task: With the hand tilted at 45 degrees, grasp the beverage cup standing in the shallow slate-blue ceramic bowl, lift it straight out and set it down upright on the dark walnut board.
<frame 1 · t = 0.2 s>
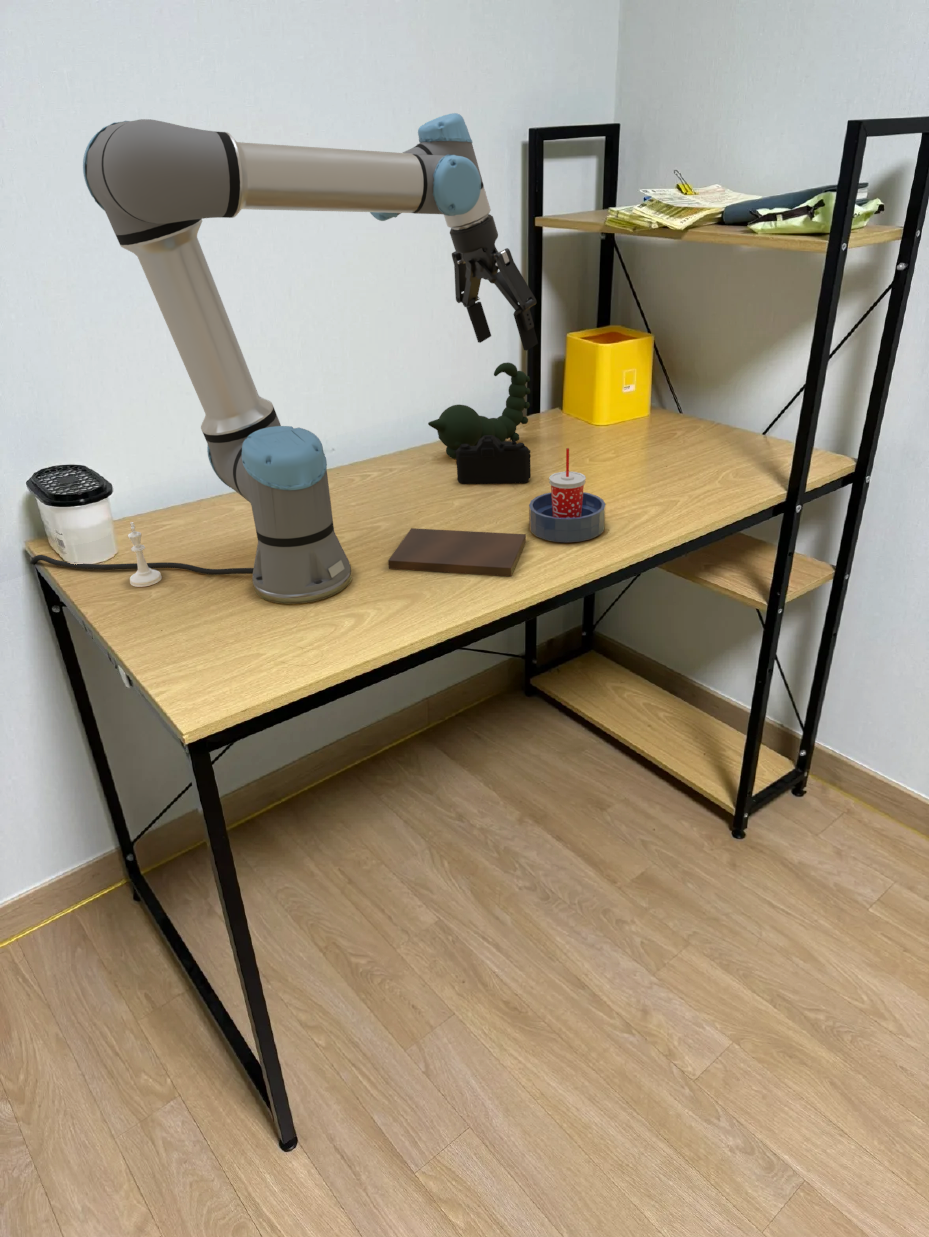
hand: (507, 343, 155), 27 cm above the table, tool tilted 15°, fingers open, 13 cm apart
film camera: (493, 477, 175), on the table
chess piece: (146, 581, 141), on the table
board: (458, 555, 143), on the table
toy figurine: (480, 452, 189), on the table
beverage cup: (566, 528, 150), resting on bowl
bowl: (566, 528, 150), on the table
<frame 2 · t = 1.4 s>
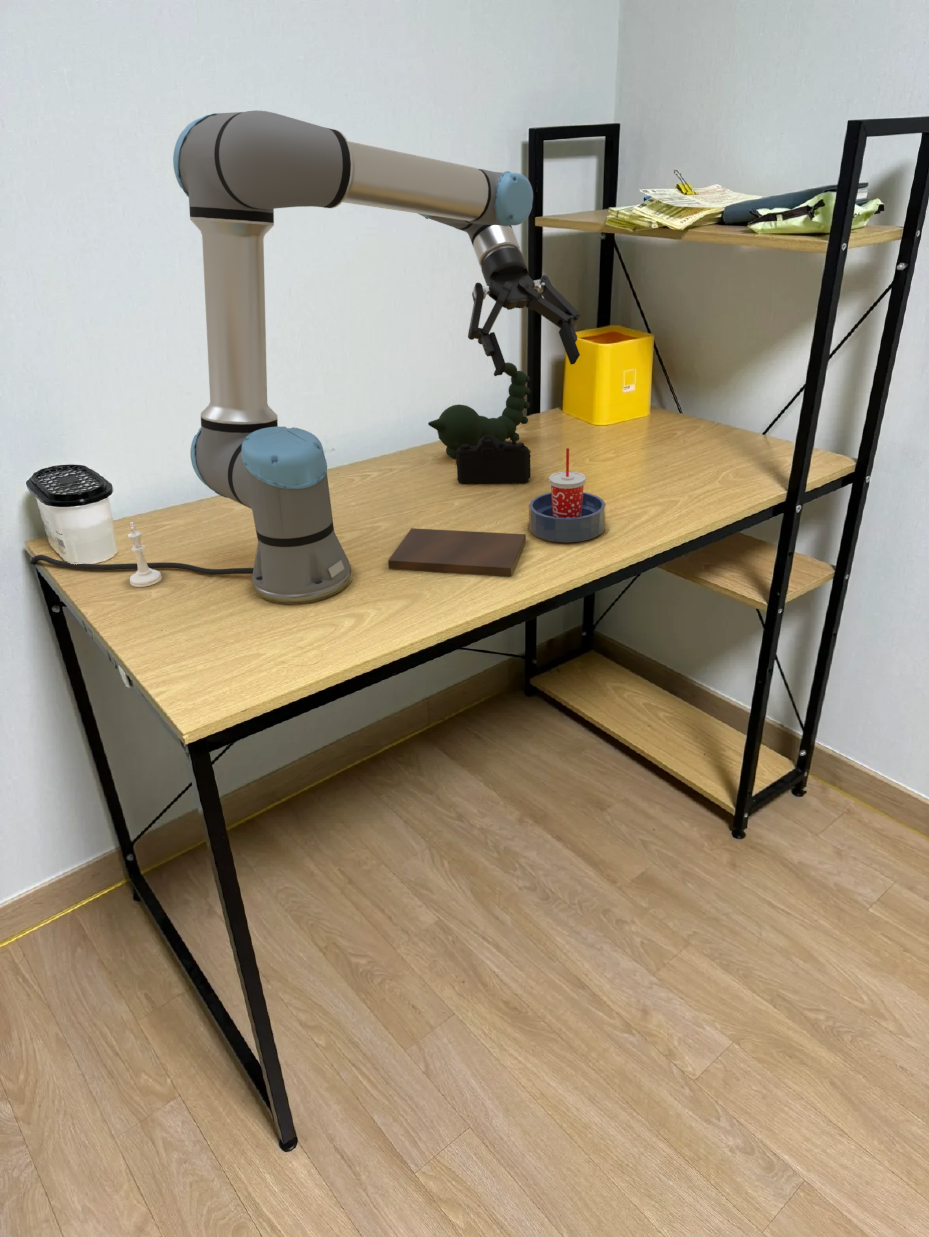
hand: (539, 365, 147), 26 cm above the table, tool tilted 45°, fingers open, 13 cm apart
nothing on the table moved.
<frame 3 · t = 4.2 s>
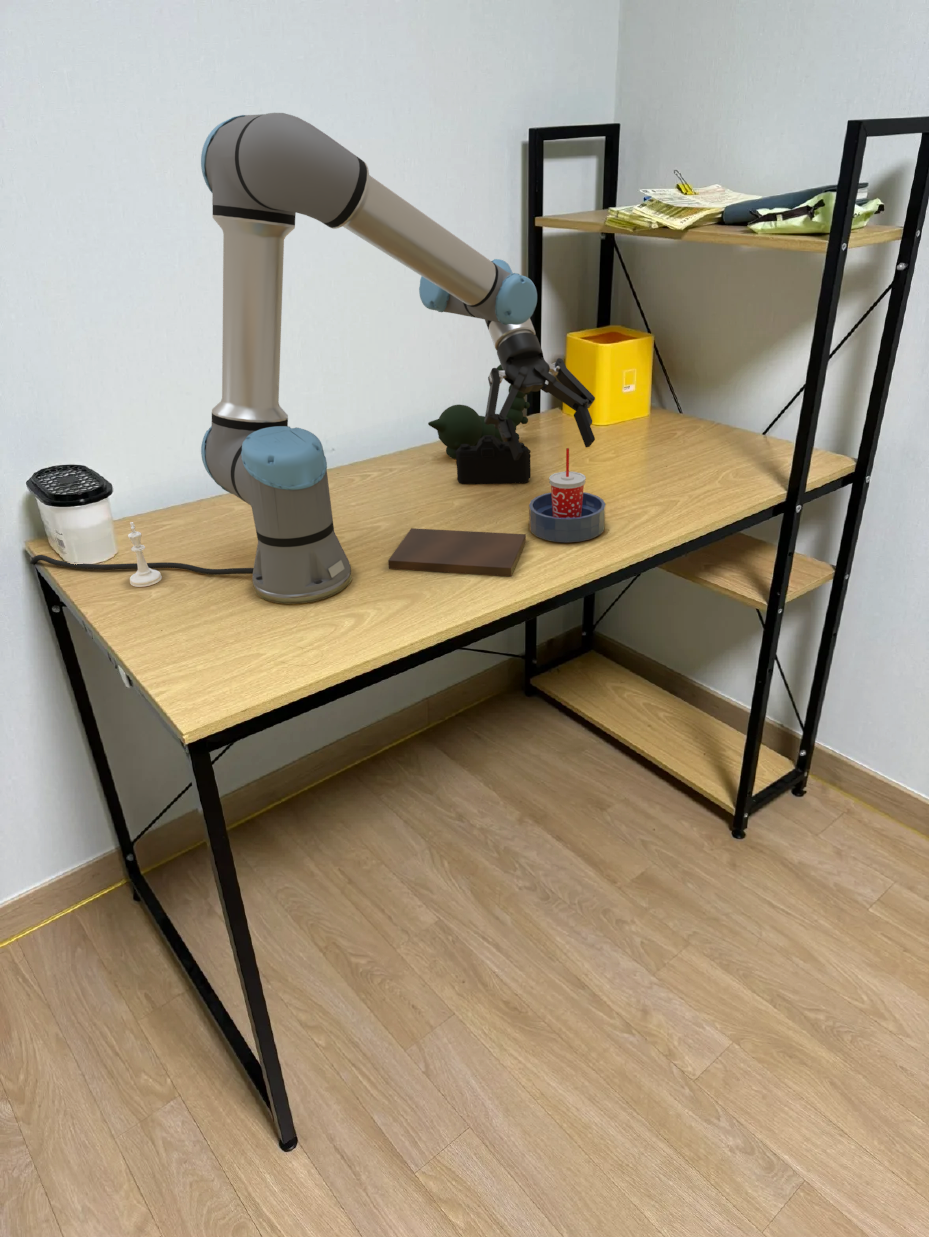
hand: (555, 450, 148), 13 cm above the table, tool tilted 45°, fingers open, 13 cm apart
nothing on the table moved.
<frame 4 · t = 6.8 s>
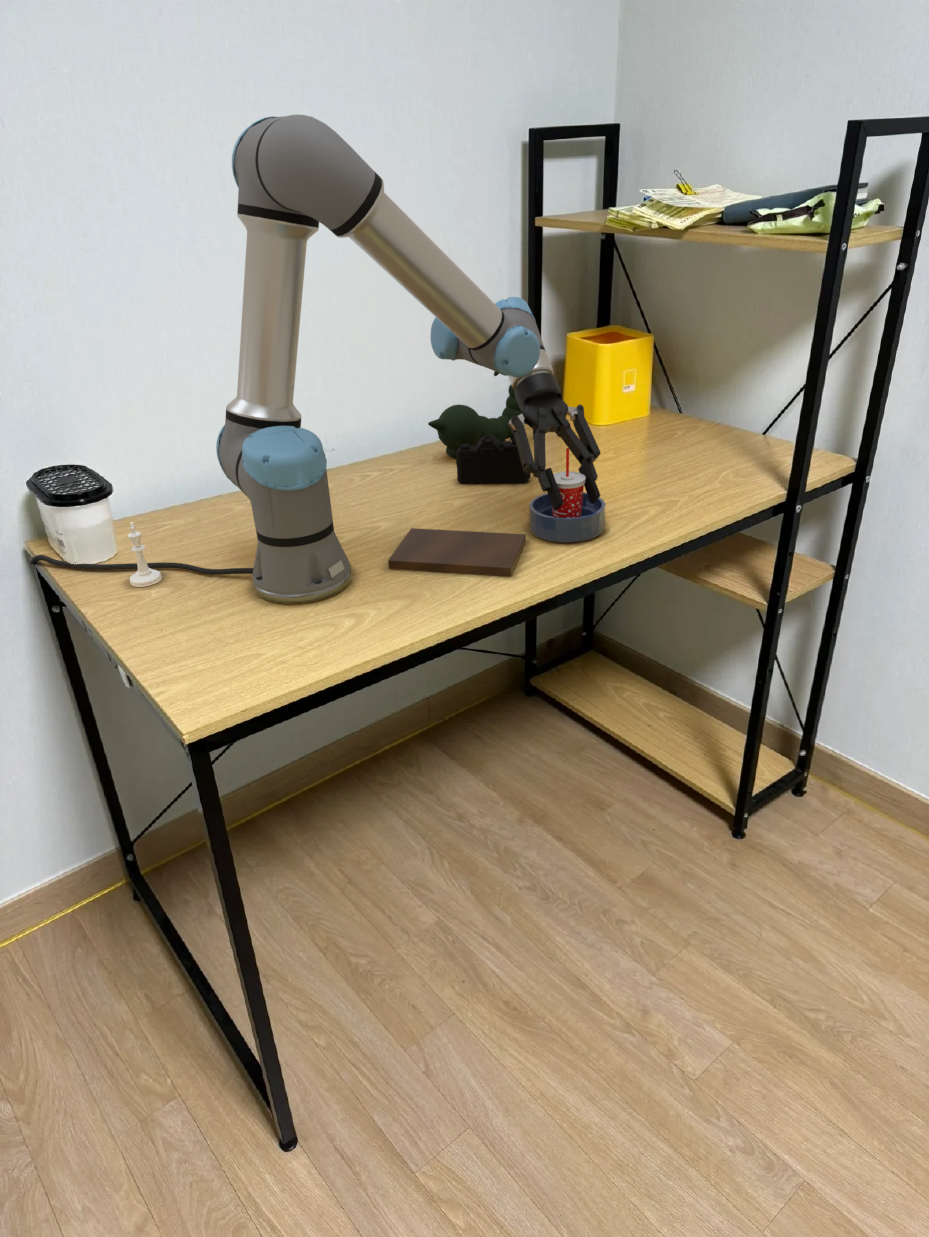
hand: (577, 503, 145), 6 cm above the table, tool tilted 45°, fingers closed on beverage cup, 6 cm apart
beverage cup: (566, 528, 150), resting on bowl, touching gripper
everything else where it was.
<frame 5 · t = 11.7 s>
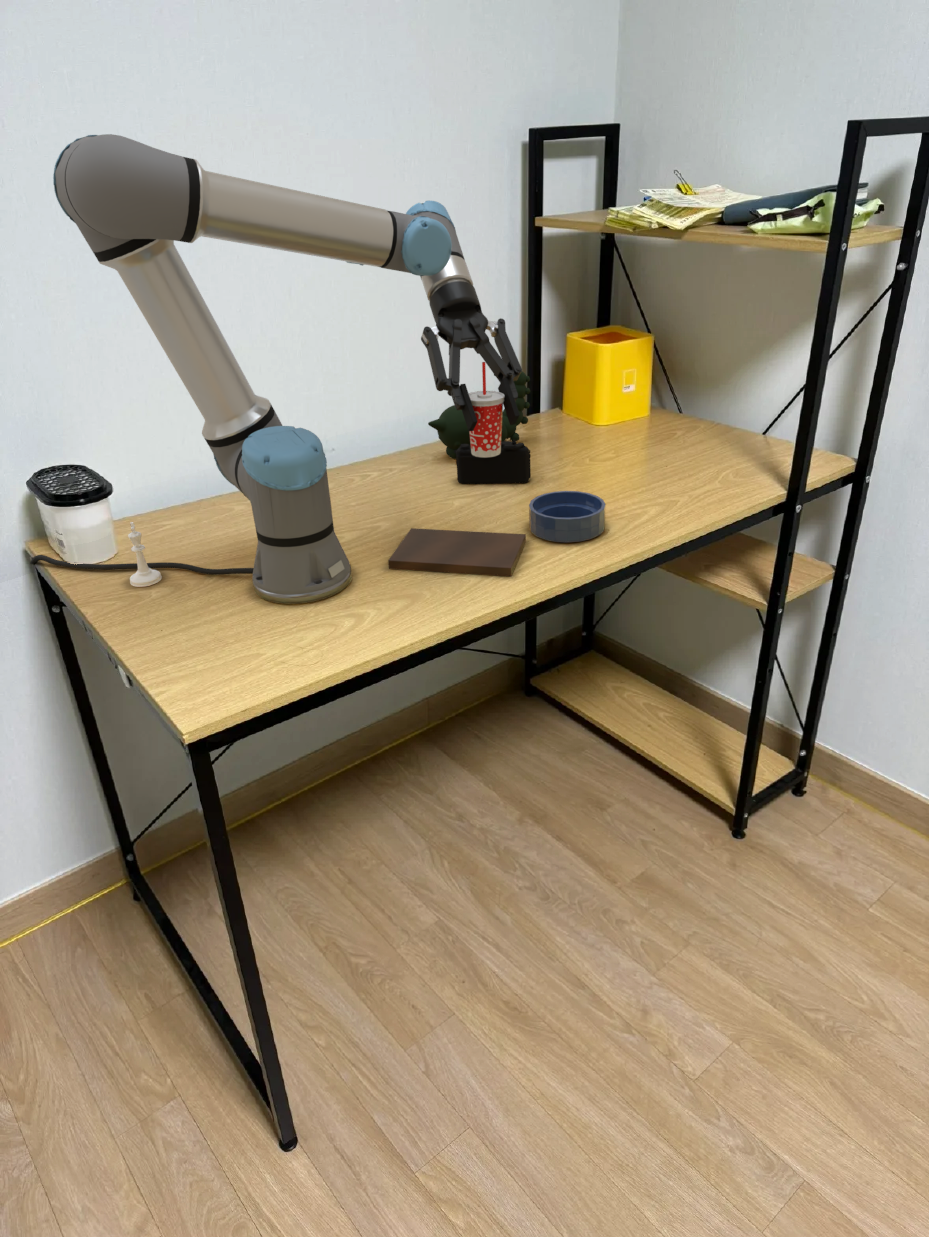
hand: (494, 423, 131), 22 cm above the table, tool tilted 45°, fingers closed on beverage cup, 6 cm apart
beverage cup: (486, 454, 137), point 16 cm above the table, touching gripper
everything else where it was.
when the fingers open (7 cm above the table, at t = 16.5 s): beverage cup stays where it is, resting on board.
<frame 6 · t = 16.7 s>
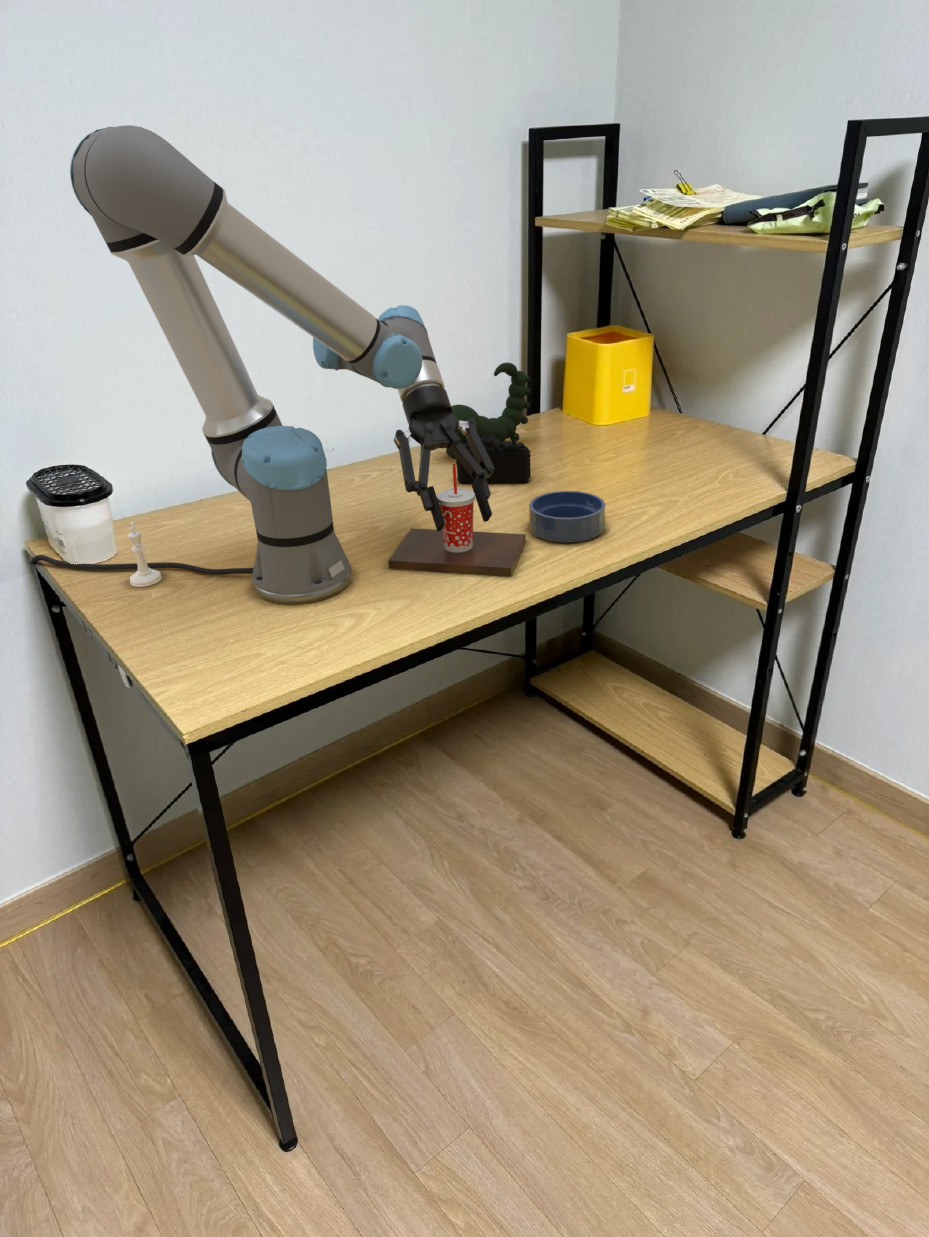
hand: (464, 522, 137), 7 cm above the table, tool tilted 45°, fingers open, 7 cm apart
beverage cup: (458, 547, 143), point 1 cm above the table, touching board
everything else where it was.
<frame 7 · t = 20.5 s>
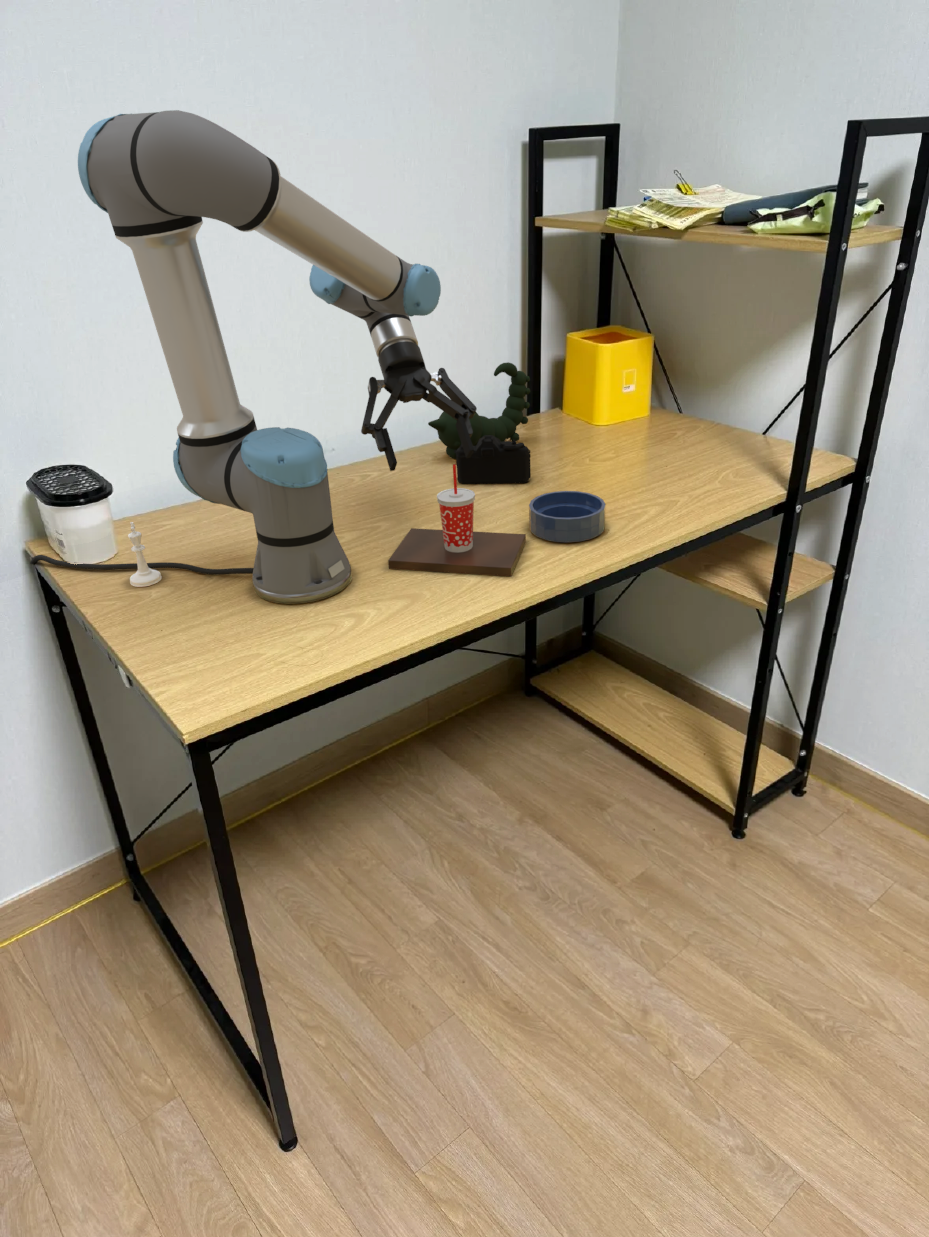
hand: (432, 460, 146), 13 cm above the table, tool tilted 45°, fingers open, 13 cm apart
nothing on the table moved.
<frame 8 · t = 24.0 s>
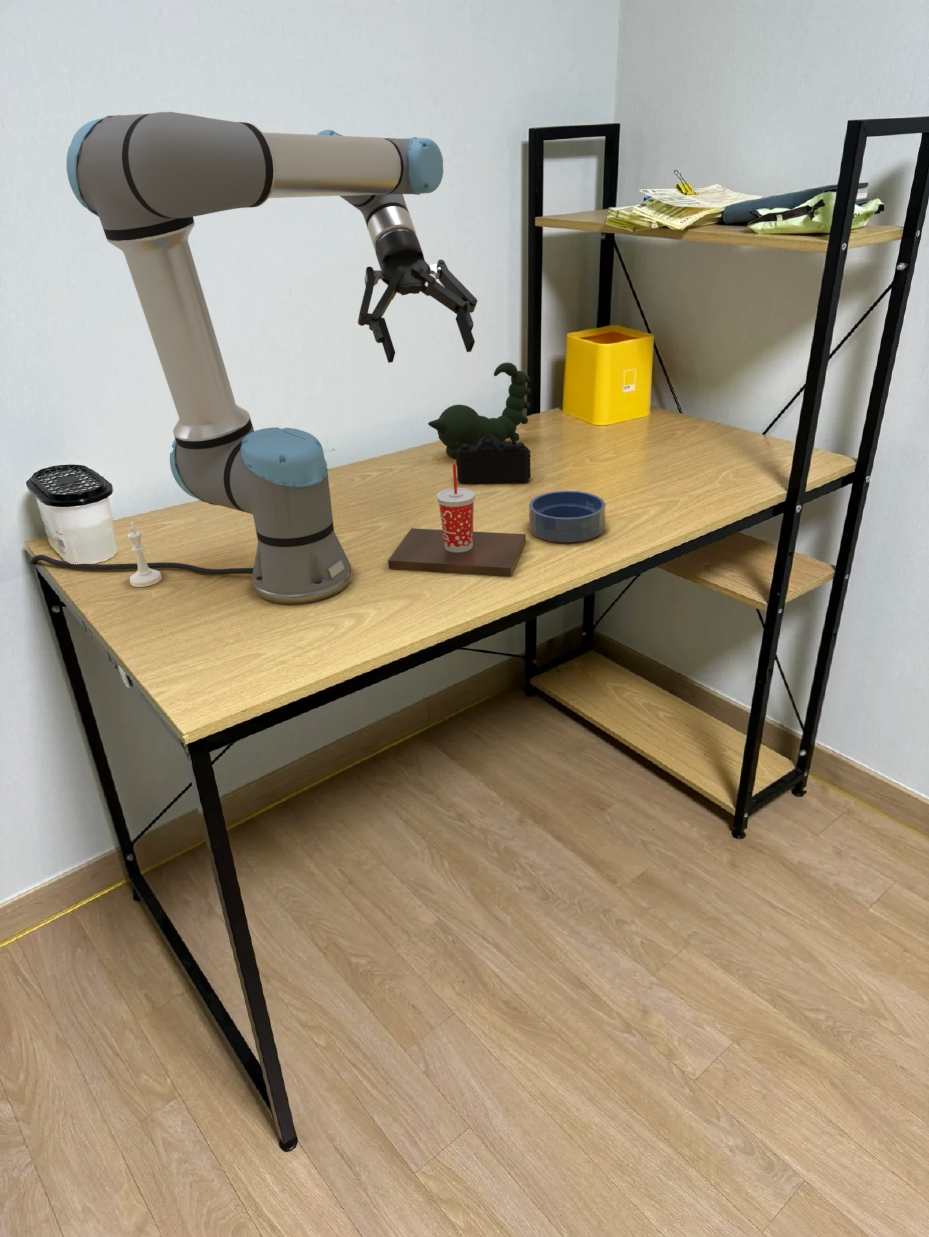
hand: (432, 352, 141), 30 cm above the table, tool tilted 45°, fingers open, 13 cm apart
nothing on the table moved.
at the end: beverage cup inside the target area on the board (0.1 cm from its centre), point 1.3 cm above the board's base; beverage cup tilted 0°; the gripper is holding nothing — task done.
